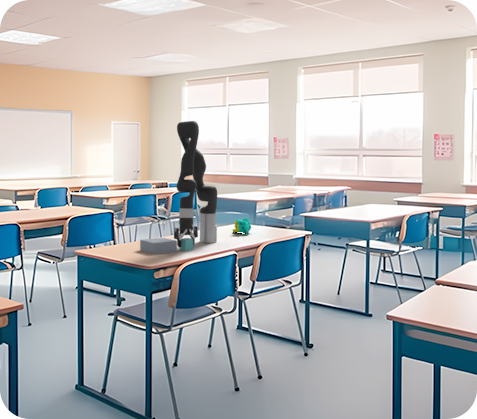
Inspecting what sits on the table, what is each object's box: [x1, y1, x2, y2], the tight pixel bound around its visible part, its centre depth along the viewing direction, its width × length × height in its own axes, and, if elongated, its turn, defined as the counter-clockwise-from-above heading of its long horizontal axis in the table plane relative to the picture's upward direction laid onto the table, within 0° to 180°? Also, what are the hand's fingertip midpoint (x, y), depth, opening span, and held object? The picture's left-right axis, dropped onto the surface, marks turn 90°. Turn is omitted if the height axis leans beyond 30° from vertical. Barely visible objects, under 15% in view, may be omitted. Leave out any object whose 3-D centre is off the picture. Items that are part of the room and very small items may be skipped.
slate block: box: [139, 237, 178, 255], centre depth 285 cm, size 14×14×6 cm
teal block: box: [179, 237, 194, 252], centre depth 290 cm, size 5×5×6 cm
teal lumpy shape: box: [231, 217, 252, 234], centre depth 355 cm, size 15×12×13 cm
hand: (185, 246), depth 290 cm, fingers open, 8 cm apart
